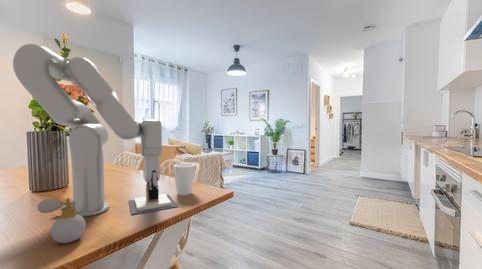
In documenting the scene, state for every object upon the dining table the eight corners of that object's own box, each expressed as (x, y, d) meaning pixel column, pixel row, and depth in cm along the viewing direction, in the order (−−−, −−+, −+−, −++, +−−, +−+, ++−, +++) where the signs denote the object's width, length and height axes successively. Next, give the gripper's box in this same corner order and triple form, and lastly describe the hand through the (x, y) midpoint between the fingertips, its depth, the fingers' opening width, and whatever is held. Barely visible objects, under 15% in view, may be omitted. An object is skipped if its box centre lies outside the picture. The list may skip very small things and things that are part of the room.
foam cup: (182, 197, 97) (182, 167, 96) (169, 193, 103) (169, 165, 102) (199, 192, 104) (198, 164, 104) (186, 189, 110) (185, 162, 110)
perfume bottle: (89, 239, 61) (88, 196, 61) (42, 255, 54) (41, 206, 54) (81, 231, 66) (80, 191, 66) (37, 244, 59) (35, 199, 58)
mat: (131, 215, 78) (131, 214, 78) (128, 201, 92) (128, 200, 92) (177, 206, 86) (177, 205, 86) (168, 195, 100) (168, 194, 100)
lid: (137, 211, 81) (136, 191, 81) (134, 201, 91) (134, 183, 91) (171, 205, 87) (171, 186, 87) (165, 196, 97) (164, 180, 97)
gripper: (138, 149, 94) (139, 192, 95) (144, 154, 79) (144, 205, 80) (157, 148, 98) (158, 189, 98) (166, 153, 83) (166, 201, 83)
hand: (152, 196), depth 89 cm, fingers open, 6 cm apart
